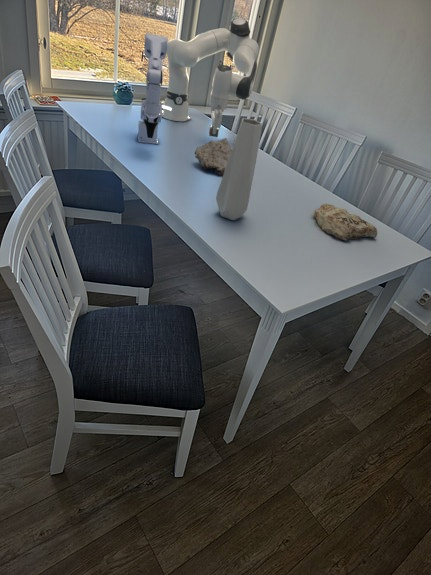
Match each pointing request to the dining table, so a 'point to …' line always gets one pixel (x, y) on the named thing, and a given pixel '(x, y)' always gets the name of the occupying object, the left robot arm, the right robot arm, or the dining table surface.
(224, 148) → the rock
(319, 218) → the stone
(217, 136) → the block
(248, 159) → the vase
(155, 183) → the dining table surface
